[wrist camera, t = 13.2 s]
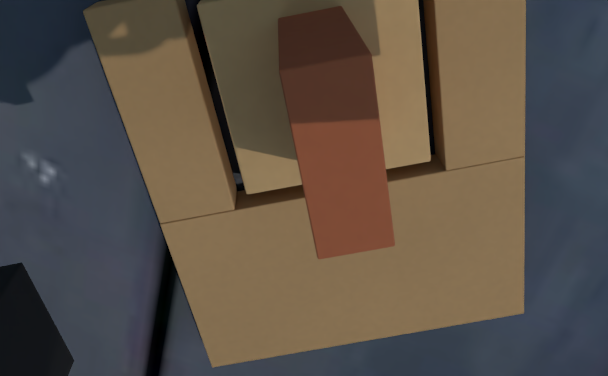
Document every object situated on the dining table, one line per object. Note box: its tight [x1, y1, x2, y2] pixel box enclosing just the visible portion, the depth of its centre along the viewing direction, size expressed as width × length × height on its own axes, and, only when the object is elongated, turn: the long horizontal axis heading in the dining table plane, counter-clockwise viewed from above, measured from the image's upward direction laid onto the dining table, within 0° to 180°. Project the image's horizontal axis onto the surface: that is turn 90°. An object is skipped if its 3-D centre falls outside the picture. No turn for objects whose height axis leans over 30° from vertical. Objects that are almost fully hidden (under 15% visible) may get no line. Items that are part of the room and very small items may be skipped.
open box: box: [197, 0, 431, 259], centre depth 19 cm, size 8×8×9 cm
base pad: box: [83, 0, 526, 367], centre depth 24 cm, size 16×18×2 cm
